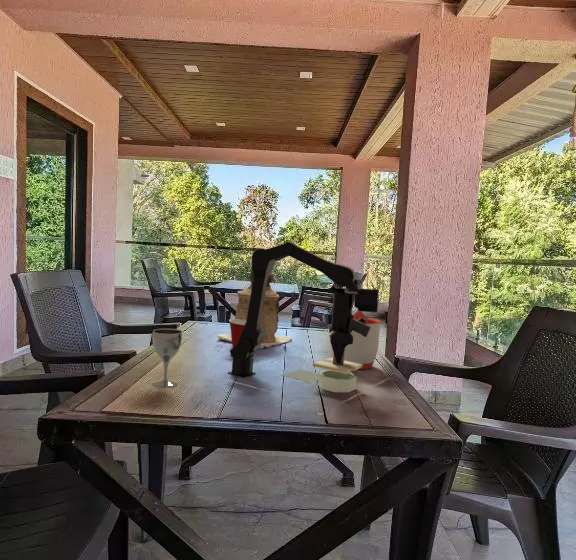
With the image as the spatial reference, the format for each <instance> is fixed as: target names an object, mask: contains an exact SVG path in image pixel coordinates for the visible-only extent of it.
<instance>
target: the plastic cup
mask: <svg viewBox="0 0 576 560" xmlns="http://www.w3.org/2000/svg"><path fill="white" fill-rule="evenodd" d="M228 321H229V327H230V333H231V338H232V342H231V343H232V345H231V346H232V348H233V347H234V346H236V345H237V344H238V340H239V337H240V334H241V331H242V329H243V327H244V325H245V323H246V320H240V319H235V318H230V319H228Z"/></svg>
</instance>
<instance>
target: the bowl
mask: <svg viewBox="0 0 576 560" xmlns="http://www.w3.org/2000/svg"><path fill="white" fill-rule="evenodd" d="M357 377H358V376H356V375H355V374H354V373H352V372H350V373H347V374H344V373H340V372H336V371H331V370H327V369H323V370H321V371H318V380H317V386H318V387H319V388H320V389H322V390H324V391H328V392H332V393H351V392H352V391H354V390H356V388H357Z"/></svg>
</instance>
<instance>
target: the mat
mask: <svg viewBox="0 0 576 560" xmlns="http://www.w3.org/2000/svg"><path fill="white" fill-rule="evenodd" d="M318 374H319V372H315V371H314V372H313V371H310V370H306V369H302V368H298V369H294V370H292V371H290V372H286V373H283V374H281V375H280V376H281V377H285V378H290V379H293V380H298V381H302V382H306V383H309V384H311V383H314V382H318Z"/></svg>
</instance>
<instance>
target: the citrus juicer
mask: <svg viewBox="0 0 576 560" xmlns="http://www.w3.org/2000/svg"><path fill="white" fill-rule="evenodd" d="M352 315H353V318H354V319H357V320H358V319H359V318H360V317H361V318H363V319H365V321H366V324H368V325H369V326H370V327H371V328H370V330H369V333H368V335H367V337H364V336H362V335H361V334H359V333H357V332H355V331H353V330H352V332H350V333H351V334H352V335H353V344H349V345H347V346H346V347H345V353H344V360H345V361H349V362H354V363H359V364H363V367H362V368H359V369H358V370H363V371H365V370H367V369H368V370H369V369H371V368H372V367H373V365H374V363H375V360H376V358H377V354H378V350H379V343H380V330H381V323H382V321H381V320H380V319H378V318H374V317H368V318H367V317H366V315H365V314H364V312H363V311H358V310H357V311H356V312H355V313H354V314H352Z"/></svg>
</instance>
